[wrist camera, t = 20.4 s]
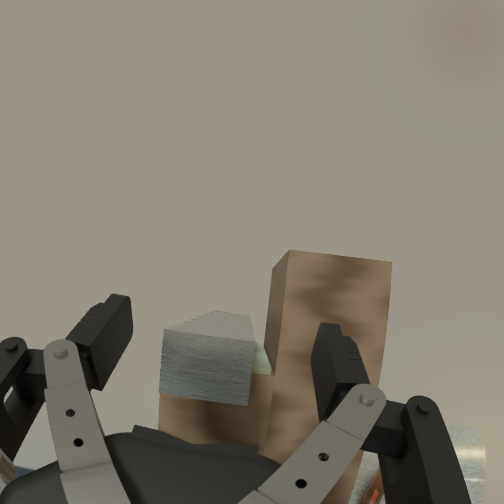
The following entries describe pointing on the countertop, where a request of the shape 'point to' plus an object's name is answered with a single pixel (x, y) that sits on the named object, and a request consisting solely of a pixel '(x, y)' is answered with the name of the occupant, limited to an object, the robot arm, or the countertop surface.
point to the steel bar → (209, 358)
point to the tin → (375, 491)
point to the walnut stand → (294, 359)
